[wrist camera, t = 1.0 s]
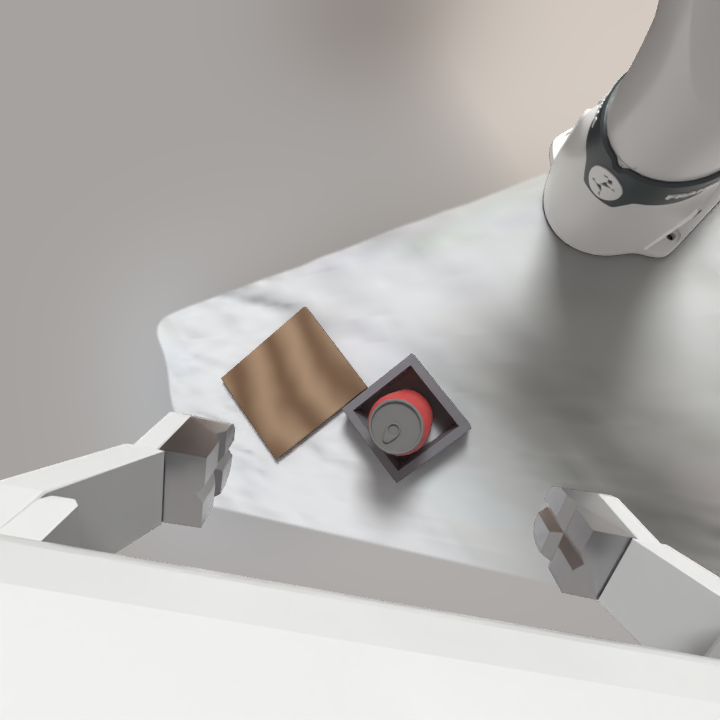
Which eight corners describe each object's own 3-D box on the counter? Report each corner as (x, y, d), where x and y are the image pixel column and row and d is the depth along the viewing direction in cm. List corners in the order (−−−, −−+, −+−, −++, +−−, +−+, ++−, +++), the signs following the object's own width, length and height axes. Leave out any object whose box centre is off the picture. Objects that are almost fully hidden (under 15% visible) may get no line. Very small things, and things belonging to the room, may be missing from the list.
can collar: (414, 355, 49) (411, 353, 45) (469, 423, 47) (471, 428, 43) (349, 406, 50) (341, 408, 47) (400, 474, 49) (396, 483, 45)
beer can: (372, 419, 50) (350, 432, 38) (402, 379, 49) (388, 380, 37) (413, 450, 48) (402, 474, 37) (443, 410, 48) (443, 421, 36)
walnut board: (307, 307, 52) (304, 306, 51) (367, 387, 50) (366, 387, 49) (225, 378, 55) (221, 378, 54) (279, 457, 52) (276, 459, 51)
